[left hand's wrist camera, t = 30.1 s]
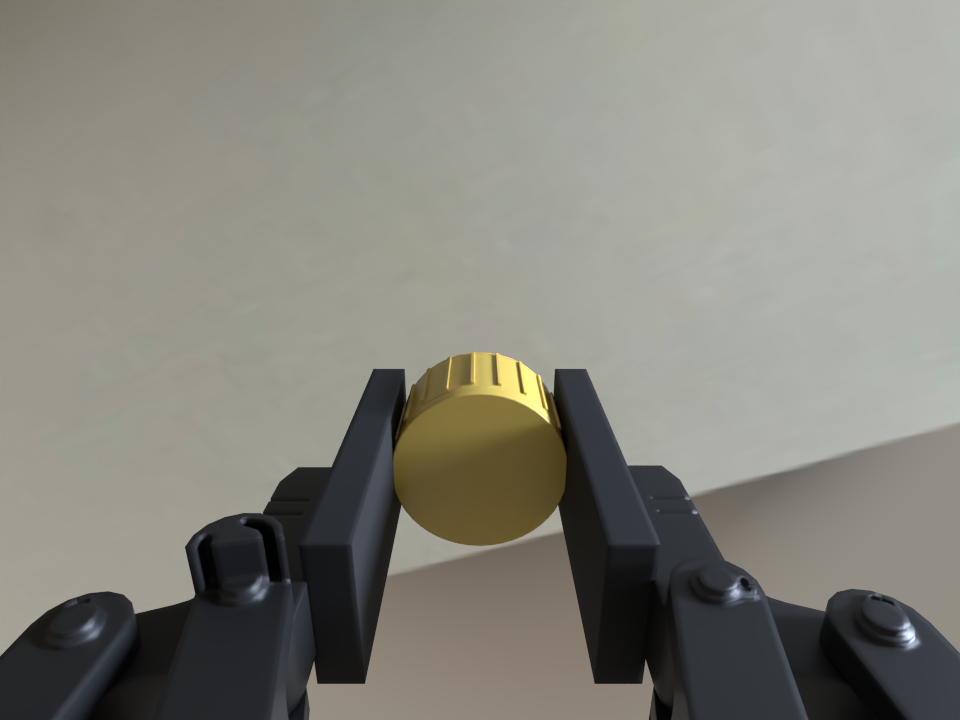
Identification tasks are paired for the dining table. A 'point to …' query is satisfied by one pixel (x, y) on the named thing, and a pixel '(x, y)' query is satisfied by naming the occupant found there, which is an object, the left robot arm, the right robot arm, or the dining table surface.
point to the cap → (479, 450)
